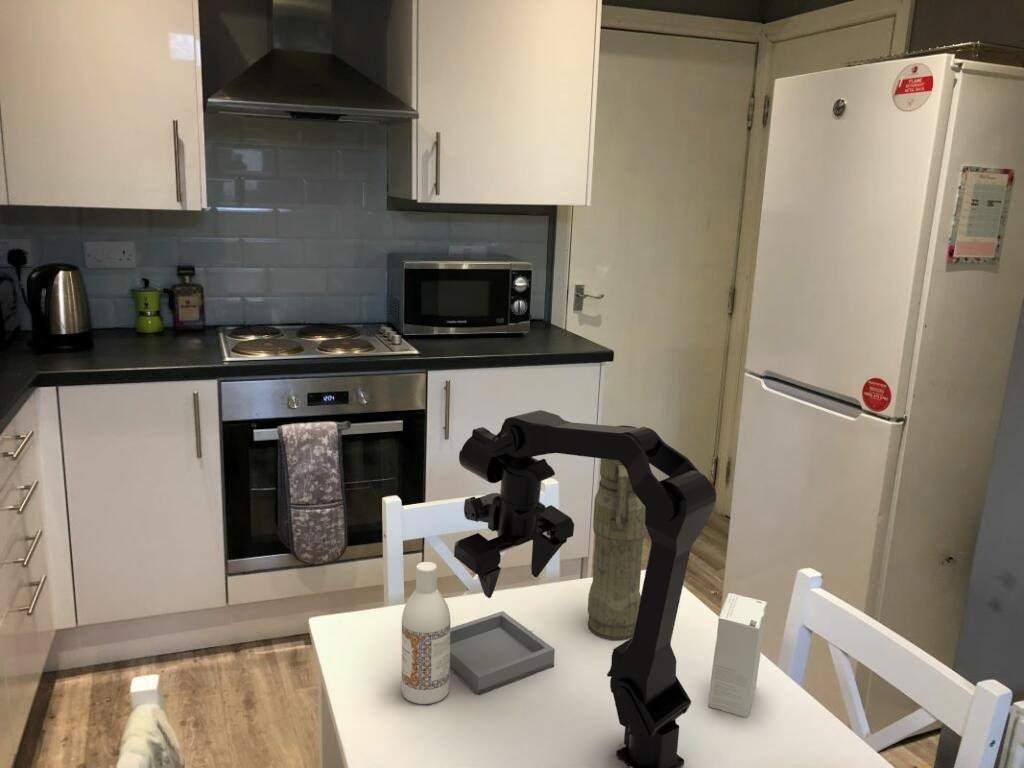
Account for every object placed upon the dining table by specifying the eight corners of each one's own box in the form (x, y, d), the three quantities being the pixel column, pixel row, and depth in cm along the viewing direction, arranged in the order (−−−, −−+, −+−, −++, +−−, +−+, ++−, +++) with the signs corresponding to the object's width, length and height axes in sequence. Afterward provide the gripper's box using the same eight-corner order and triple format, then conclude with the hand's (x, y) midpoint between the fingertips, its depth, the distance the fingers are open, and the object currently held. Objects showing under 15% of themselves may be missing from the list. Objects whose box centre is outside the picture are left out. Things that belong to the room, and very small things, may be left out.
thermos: (635, 610, 148) (649, 420, 140) (643, 646, 136) (659, 441, 128) (585, 608, 148) (596, 418, 140) (589, 644, 137) (601, 439, 129)
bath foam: (394, 685, 124) (394, 560, 119) (438, 673, 127) (439, 551, 122) (411, 711, 118) (412, 580, 113) (456, 698, 121) (459, 571, 117)
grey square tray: (553, 666, 130) (554, 649, 129) (478, 695, 122) (479, 677, 121) (502, 627, 141) (502, 610, 140) (430, 651, 133) (430, 634, 132)
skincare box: (717, 679, 128) (726, 590, 125) (758, 689, 126) (768, 599, 122) (706, 709, 121) (716, 615, 117) (749, 720, 118) (760, 625, 115)
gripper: (531, 457, 131) (523, 541, 137) (433, 489, 120) (429, 580, 125) (581, 487, 123) (570, 575, 129) (481, 524, 112) (474, 619, 118)
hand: (511, 585), depth 126 cm, fingers open, 9 cm apart
